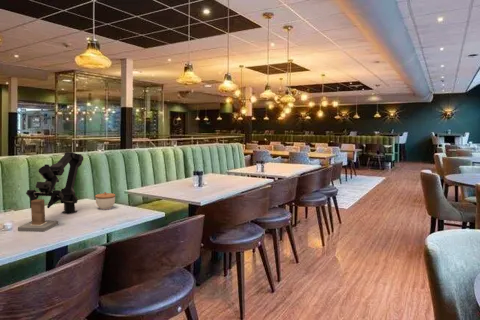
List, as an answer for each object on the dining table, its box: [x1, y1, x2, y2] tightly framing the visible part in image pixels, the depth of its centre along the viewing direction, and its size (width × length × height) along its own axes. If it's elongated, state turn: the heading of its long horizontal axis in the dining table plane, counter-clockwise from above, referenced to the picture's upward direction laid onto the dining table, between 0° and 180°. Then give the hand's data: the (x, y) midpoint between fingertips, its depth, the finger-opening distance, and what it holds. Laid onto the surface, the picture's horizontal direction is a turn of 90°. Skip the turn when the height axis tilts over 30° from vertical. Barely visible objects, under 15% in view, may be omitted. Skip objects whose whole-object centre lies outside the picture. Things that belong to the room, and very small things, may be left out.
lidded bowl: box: [94, 191, 116, 210], centre depth 237 cm, size 13×13×11 cm
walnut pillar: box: [30, 198, 46, 225], centre depth 191 cm, size 5×5×13 cm
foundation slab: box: [17, 219, 59, 233], centre depth 192 cm, size 14×14×2 cm
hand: (39, 207), depth 192 cm, fingers open, 9 cm apart
